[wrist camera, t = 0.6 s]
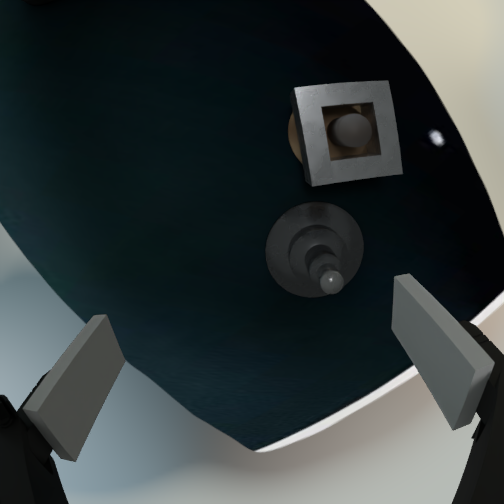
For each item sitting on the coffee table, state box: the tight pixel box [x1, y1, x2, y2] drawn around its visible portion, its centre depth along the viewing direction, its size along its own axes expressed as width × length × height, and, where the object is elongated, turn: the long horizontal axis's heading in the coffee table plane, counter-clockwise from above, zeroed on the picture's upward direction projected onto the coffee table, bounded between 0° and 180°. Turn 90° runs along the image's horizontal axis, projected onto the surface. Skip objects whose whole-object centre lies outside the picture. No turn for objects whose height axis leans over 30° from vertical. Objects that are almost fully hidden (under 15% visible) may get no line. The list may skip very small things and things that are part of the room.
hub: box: [265, 201, 364, 297], centre depth 34 cm, size 12×12×10 cm
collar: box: [290, 81, 403, 186], centre depth 28 cm, size 9×9×4 cm
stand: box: [288, 106, 372, 164], centre depth 29 cm, size 10×10×9 cm
